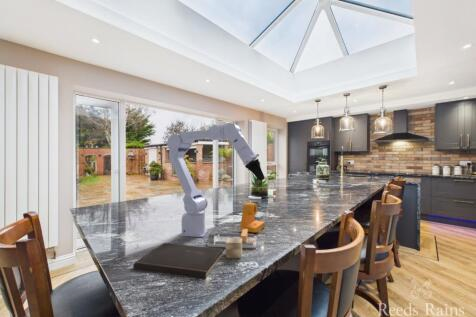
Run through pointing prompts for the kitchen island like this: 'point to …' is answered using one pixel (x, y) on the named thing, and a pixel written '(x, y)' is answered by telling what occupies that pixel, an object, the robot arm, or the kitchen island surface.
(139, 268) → the dark brown flat slab
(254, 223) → the bracket
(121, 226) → the kitchen island surface
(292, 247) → the kitchen island surface
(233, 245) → the maple block
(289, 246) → the kitchen island surface
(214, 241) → the vise base
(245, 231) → the sliding jaw
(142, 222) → the kitchen island surface
